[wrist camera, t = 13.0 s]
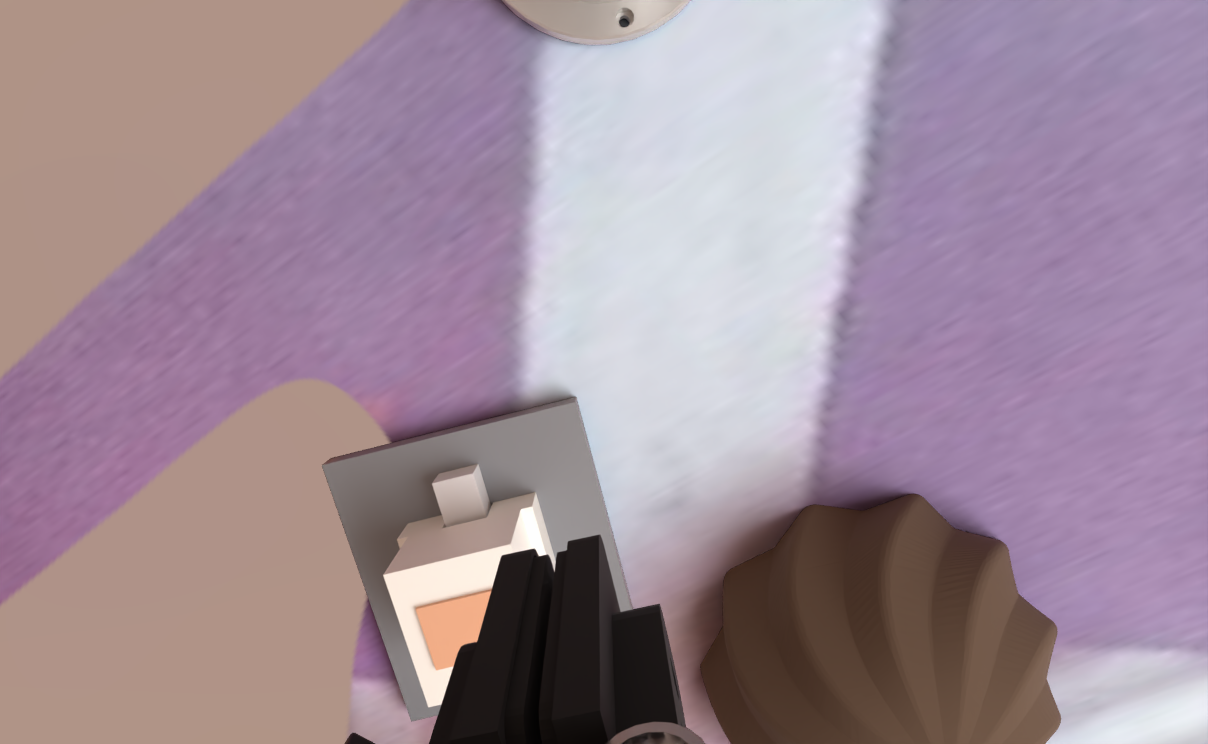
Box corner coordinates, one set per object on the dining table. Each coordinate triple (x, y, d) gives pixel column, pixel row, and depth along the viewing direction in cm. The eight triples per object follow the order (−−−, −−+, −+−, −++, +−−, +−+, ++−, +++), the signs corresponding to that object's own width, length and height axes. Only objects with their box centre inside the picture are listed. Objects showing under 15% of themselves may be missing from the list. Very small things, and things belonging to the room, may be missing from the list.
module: (407, 523, 36) (368, 580, 29) (535, 492, 35) (523, 542, 29) (445, 636, 37) (415, 713, 31) (568, 606, 37) (563, 678, 31)
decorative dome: (766, 831, 41) (819, 1013, 31) (655, 560, 38) (675, 670, 28) (1064, 729, 40) (1216, 886, 30) (978, 440, 37) (1117, 511, 27)
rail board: (330, 458, 36) (309, 475, 33) (576, 396, 36) (574, 408, 33) (416, 707, 39) (403, 740, 36) (645, 653, 39) (648, 683, 36)
